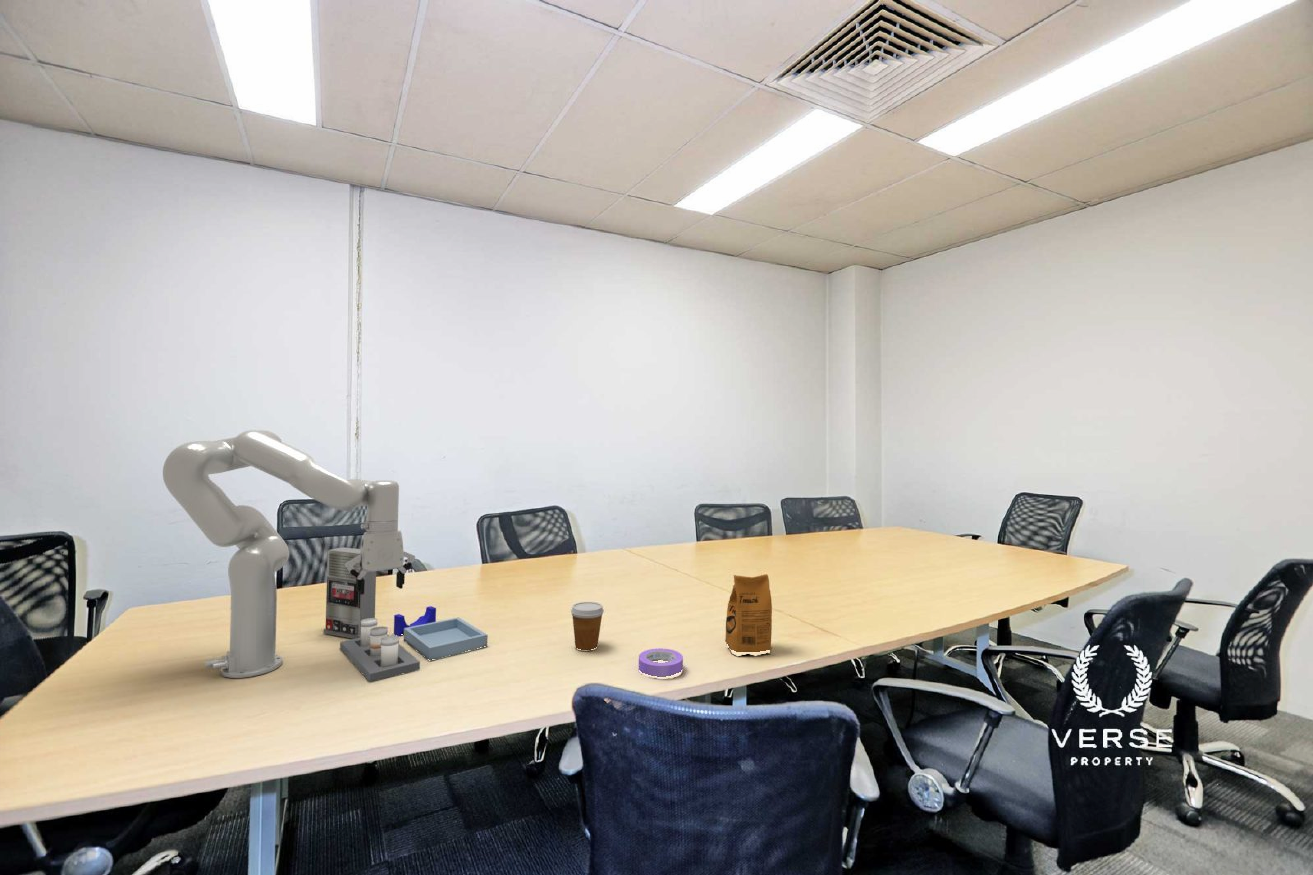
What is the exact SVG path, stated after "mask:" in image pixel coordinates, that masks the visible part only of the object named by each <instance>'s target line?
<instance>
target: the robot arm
mask: <svg viewBox="0 0 1313 875" xmlns="http://www.w3.org/2000/svg"><path fill="white" fill-rule="evenodd" d="M162 466H163V467H162V478H163V479H162V480H163V482H164V484H165V487H166V489H167V490H168V491H169V493H170V494H171V496H172V497H173V498H174V499H175V500H176V501H177V503H178V504H179V505H180V506H181V507H182V508H183V509H184V511H185V512H186V514H187V515H188V516H189V517H190V518H191V520H192V521H193V522H194V523H195V525H196V526H197V527H198V528H199V529H200V531H201V532H202V533H203V534H204V536H205V537H206V538H207V539H208V541H209V542H211V543H212V544H213V545H215V546H217V547H219V548H229V547H233V546H236V547H237V548H238V550H237V551H236V552H235V553H234V554H233V555H232V557H231V558H230V560H229V563H228V569H227V570H228V571H227V572H228V573H227V574H228V581H229V588H230V626H229V628H230V629H229V630H230V631H229V651H227V652H226V654H225V655H222V656H221V657H219V658H212V659H206V660H205V665H204V667H205V669H211V668H212V670H217V669H220V668H221V669H220V674H221V675H222V677H226V678H231V679H243V678H250V677H255V676H260V675H263V674H266V673H267V674H268V673H271V672H272V671H274V670H276V669H278V668H279V667H281V665H282V664H283V657H282V656H281V655H277V654H276V648H277V647H276V646H277V642H276V641H277V612H278V611H277V610H278V609H277V608H278V607H277V604H278V603H277V602H278V591H277V589H278V588H277V582H276V576H275V574H276V572H278V571H279V570H281V569H282V568H283V567H284V566H285V565H286V564H287V562H288V560H289V558H290V549H289V547H288V545H287V543H286V542H285V540H284V539H283V537H282V536H281V535H280V534H279V533H278V531H277V530H276V529H275V527H274V526H273V525H272V524H271V523H270V521H269V519H267V517H265V516H264V515H263V514H262V512H260V511H259V510H258V509H256V508H255V507H253V506H249V505H245V504H244V505H243V504H242V505H241V504H240V505H239V504H238V505H235V503H233V501H232V500H231V499H230V498H229V497H228V496H227V495H226V493H225V492H224V490H223V489H222V488H221V487H220V486H218V485H217V484H216V483H215V482H213V480H211V479H210V477H209V475H215V474H221V473H225V472H226V473H227V472H230V471H234V470H239V469H243V468H249V467H253V468H255V469H257V470H259V471H261V472H263V473H266V474H268V475H270V476H272V477H274V478H276V479H279V480H281V481H283V482H285V483H287V484H289V485H290V486H292V488H294V489H296V490H297V491H299V492H301V493H302V494H303V495H305V496H307V497H309V498H311V499H313V500H315V501H316V502H319V503H321V504H324V505H325V506H328V507H329V508H330V507H331V508H332V509H335V510H338V511H342V512H348V511H352V510H355V509H356V508H360V507H362V506H363V507H365V506H366V507H367V508H366V509H367V510H366V511H367V512H366V515H367V516H366V520H365V522H364V523H361V524H360V528H361V530H365V531H364V533H363V536H362V540H361V544H360V545H361V546H360V549H361V550H360V555H359V556H357V557H355V558H354V559H352V560H350V561H348V562H347V563H345V566H346V567H347V569H348V571H349V573H351V574H352V575H353V576H354V577H356V591H358V593H359V594H361V595H363V594H364V585H365V580H364V579H363V577H364V576H365V574H366V573H367V572H374V571H376V572H380V571H387V570H396V569H397V572H396V575H395V576H396V577H395V580H396V581H395V582H396V583H395V584H396V585H395V586H396V587H397V588H398V589H400V590H401V589H403V588H404V586H403V585H405V579H406V578H405V575H406V574H407V572H408V570H409V569H410V568H411V567H412V565H413V563H414V561H415V559H416V556H415V555H414V554H412V553H409V552H406V551H404V541H403V533H402V530H399V529H398V528H399V500H400V499H399V498H400V497H399V496H400V493H399V492H400V486H399V483H398V482H397V481H395V480H387V479H386V480H380V479H379V480H366V479H357V478H354V479H353V478H352V479H347V480H346V479H344V478H342V477H339V476H338V475H336V474H333V473H331V472H329V471H327V470H325V469H324V468H323V467H321V466H320V465H318V464H317V463H316V461H315V460H314V458H313V457H312V456H311V455H309V454H308V453H306V452H304V451H302V450H300V449H297V448H296V447H293V446H291V445H289V444H287V443H285V442H283V441H282V440H281V437H279V436H278V435H277V434H276V433H274V432H272V431H269V430H262V429H261V430H260V429H258V430H257V429H253V430H252V429H250V430H246V431H243V432H241V433H239V434H238V435H237V436H234V437H230V438H223V439H219V440H207V441H206V440H205V441H204V440H201V441H190V442H185V443H183V444H180V445H179V446H176V447H175V448H174V449H172V451H171V452H170V453H169V454H168V455H167V457H166V459H165V461H164V464H163V465H162ZM404 558H407V560H406V562H404V561H405V559H404ZM358 562H359V564H360V569H359V570H358V571H355V569H354V568H353V566H354V565H355V564H356V563H358Z"/></svg>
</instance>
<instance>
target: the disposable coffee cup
mask: <svg viewBox="0 0 1313 875" xmlns="http://www.w3.org/2000/svg"><path fill="white" fill-rule="evenodd" d="M604 612H605V609H604V607H603V604H601V603H599V602H595V601H582V602H576V603H574V604H573V605H572V607H571V609H570V613H571V616H572V625H573V636H574V644H575V646H576V648H578V649H581V650H591V649H594V648H596V647H597V648H598V646H599V645H598V644H599V638H600V633H601V632H600V631H601V624H602V618H603V617H602V616H603V614H604ZM576 648H575V649H576Z"/></svg>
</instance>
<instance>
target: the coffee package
mask: <svg viewBox="0 0 1313 875" xmlns="http://www.w3.org/2000/svg"><path fill="white" fill-rule="evenodd" d="M733 582H734V583H733V584H734V585H732V590H731V594H730V596H729V600H728V603H727V610H726V620H725V636H724V637H725V639H724V640H725V643H726V645H727V644H728V646H729V648H730V649H731V650H734V651H736V652H760V651H766V650H771V651H772V631H773V630H772V626H773V625H772V623H773V619H772V616H773V604H772V603H773V602H772V595H771V590H770V579H769V575H768V574H767V573H766V574H761V575H758V576H757V575H756V576H753V577H751V576H743V575H736V574H733Z"/></svg>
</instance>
